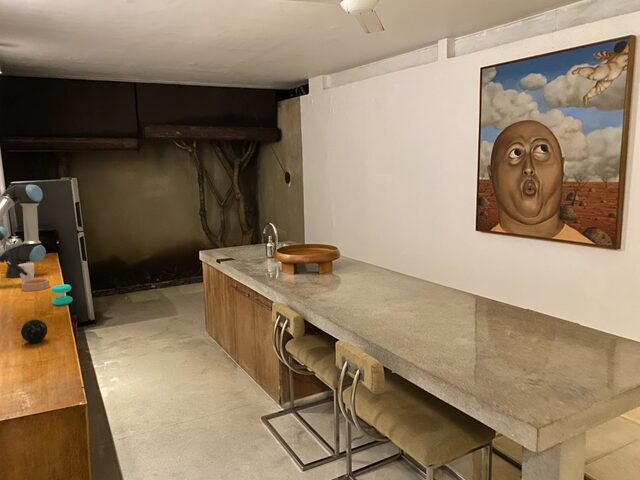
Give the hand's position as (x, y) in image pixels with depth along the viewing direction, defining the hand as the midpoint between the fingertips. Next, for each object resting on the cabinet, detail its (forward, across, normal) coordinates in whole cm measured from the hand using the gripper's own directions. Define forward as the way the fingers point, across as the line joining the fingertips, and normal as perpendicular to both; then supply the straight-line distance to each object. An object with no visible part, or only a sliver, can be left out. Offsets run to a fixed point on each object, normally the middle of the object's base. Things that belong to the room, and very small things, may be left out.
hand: (32, 275), depth 325 cm
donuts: (+18, +62, +11) cm, 66 cm away
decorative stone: (+13, +127, +6) cm, 128 cm away
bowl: (+6, +14, -2) cm, 15 cm away
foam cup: (+1, 0, -6) cm, 6 cm away
